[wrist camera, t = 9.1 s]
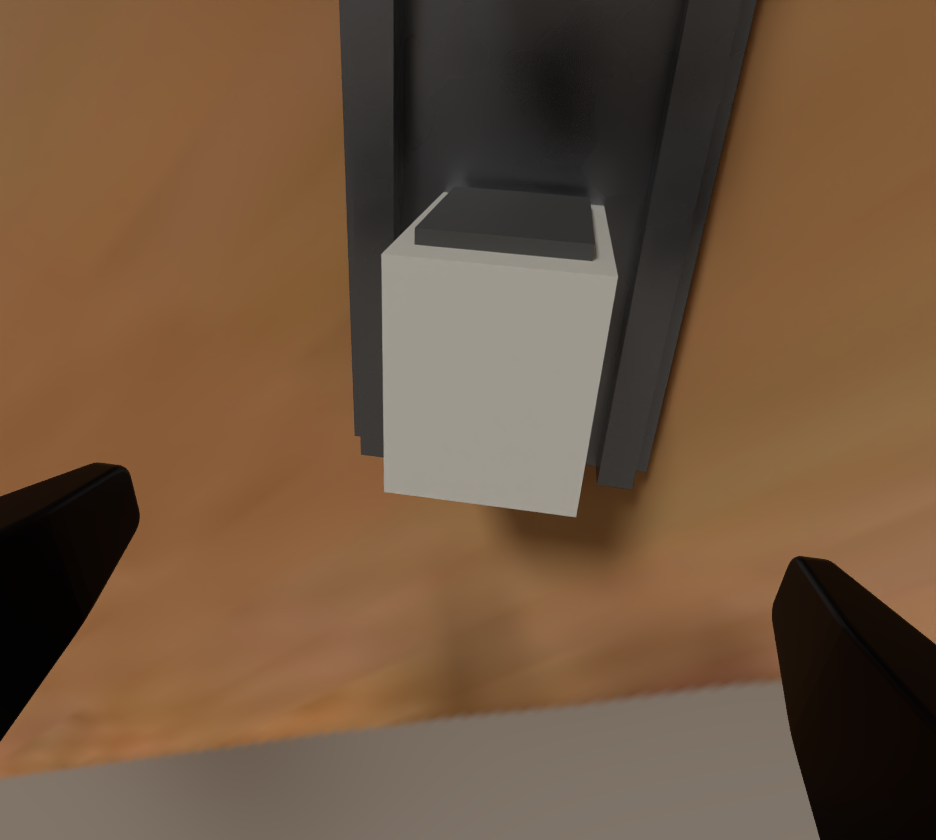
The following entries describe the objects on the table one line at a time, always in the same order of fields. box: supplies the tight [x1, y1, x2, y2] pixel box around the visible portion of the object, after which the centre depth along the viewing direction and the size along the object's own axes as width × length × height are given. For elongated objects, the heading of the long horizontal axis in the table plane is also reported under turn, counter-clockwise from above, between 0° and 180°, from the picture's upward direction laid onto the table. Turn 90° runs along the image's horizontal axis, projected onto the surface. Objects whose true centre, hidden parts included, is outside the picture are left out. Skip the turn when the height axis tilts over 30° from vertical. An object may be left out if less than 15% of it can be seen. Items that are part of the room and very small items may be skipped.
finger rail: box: [339, 0, 757, 489], centre depth 14 cm, size 9×22×2 cm, turn 177°
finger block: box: [381, 186, 618, 517], centre depth 15 cm, size 5×4×6 cm
